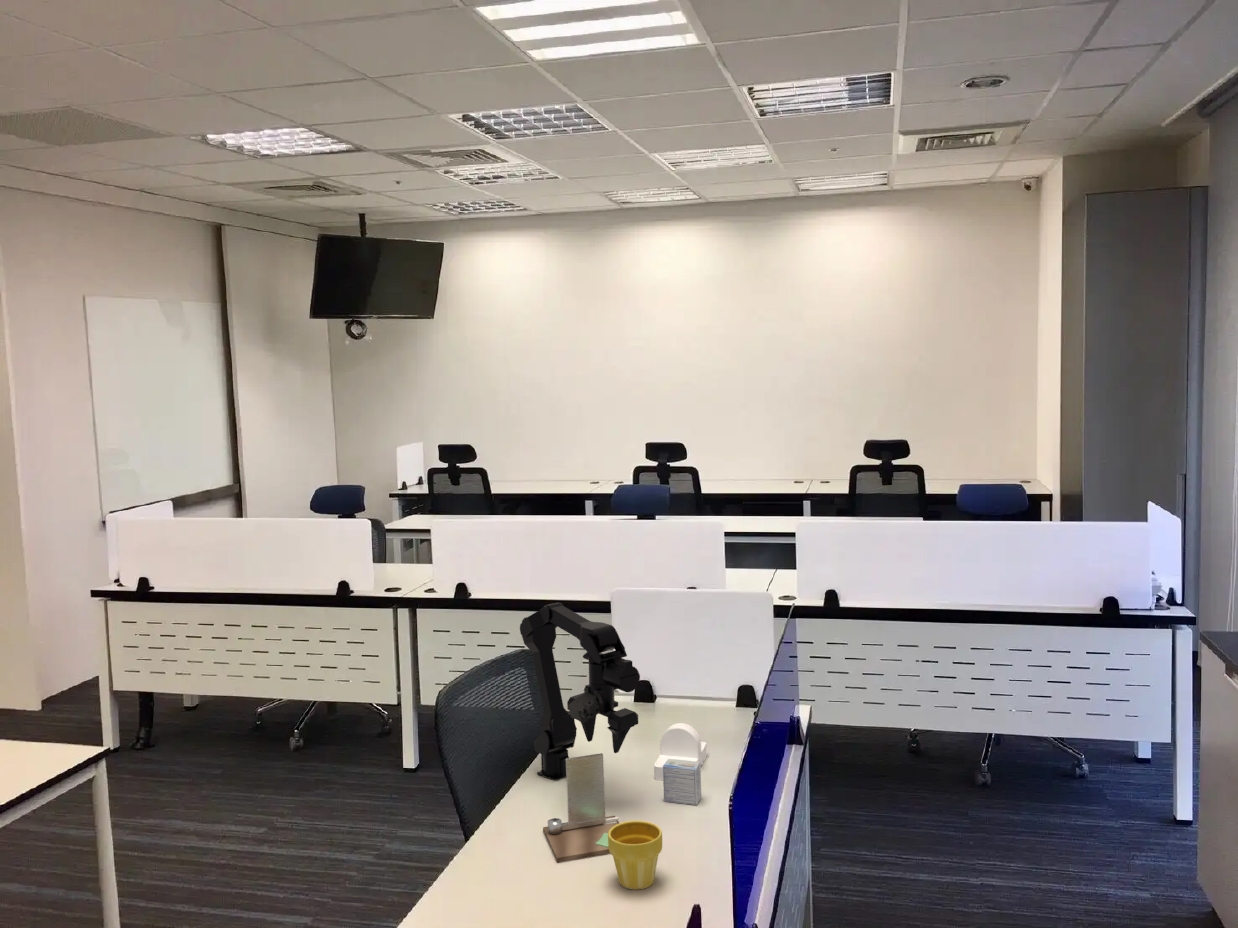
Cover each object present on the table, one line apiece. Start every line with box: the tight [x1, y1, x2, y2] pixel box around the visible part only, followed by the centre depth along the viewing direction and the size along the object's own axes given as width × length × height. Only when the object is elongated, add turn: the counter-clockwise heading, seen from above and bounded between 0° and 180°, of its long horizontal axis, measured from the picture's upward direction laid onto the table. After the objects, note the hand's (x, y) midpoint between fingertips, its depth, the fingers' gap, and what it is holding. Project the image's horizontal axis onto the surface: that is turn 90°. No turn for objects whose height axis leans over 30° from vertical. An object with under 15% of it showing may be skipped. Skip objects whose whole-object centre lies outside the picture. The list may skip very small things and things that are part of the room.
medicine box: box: [662, 759, 702, 806], centre depth 218 cm, size 8×4×9 cm, turn 71°
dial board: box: [542, 815, 620, 864], centre depth 200 cm, size 16×14×1 cm
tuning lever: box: [547, 753, 620, 834], centre depth 203 cm, size 16×3×15 cm, turn 106°
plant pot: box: [608, 820, 663, 890], centre depth 183 cm, size 10×10×10 cm
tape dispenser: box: [653, 722, 707, 782], centre depth 236 cm, size 10×18×11 cm, turn 163°
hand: (602, 746), depth 219 cm, fingers open, 9 cm apart
